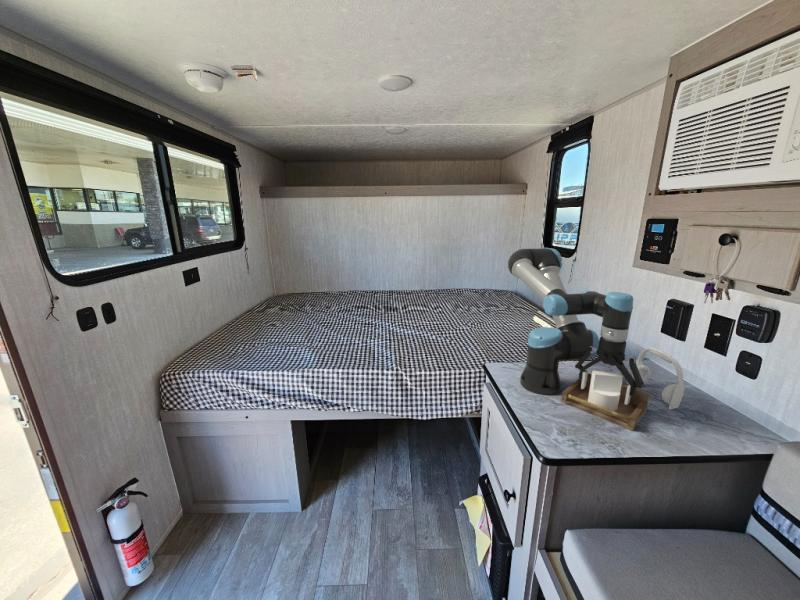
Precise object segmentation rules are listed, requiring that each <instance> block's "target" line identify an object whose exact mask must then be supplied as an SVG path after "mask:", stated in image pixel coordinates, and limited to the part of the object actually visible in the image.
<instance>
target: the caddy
mask: <svg viewBox="0 0 800 600" xmlns="http://www.w3.org/2000/svg"><path fill="white" fill-rule="evenodd" d="M579 376H580V371H579V374H578V379H577V380H575V381H574V382H573V383H572V384H571V385H569V386H568V387H567V388H565V389H564V390H563V391H562V392H561V393H562V394H561V399H560V402H561V403H563V404H566V405H568V406H570V407H573V408H575V409H578V410H581V411H583V412H586V413H588V414H590V415H593V416H595V417H598V418H600V419H602V420H605V421H608V422H610V423H613V424H615V425H618V426H620V427H623V428H625V429H628V430H630V431H634V429H636V427H637V425H638V424H639V423H640V421H641V419H643V417H644V416H645V414H646V412H647V411H648V410H647V409H648V405H649V400H650V396H651V395H650V394H651V392H648V391H645V390H642V389H640V388H636V391H635V394H634V395H633V396H630V402H629V403H628V404H627V405H626V404H624V403H625V398H626V392H627V386H628V384H627V385H626V384H623V383H622V386H621V391H620V398H619V403H618V409H617V410H616V411H611V410H609V409H606V408H603V407H601V406H598V405H595V404H593V403H590V402H588V397H589V390H590V383H591V376H592V373H590V372H588V375H587V382H586V387H585V388H584V389H581V383H582V379H580V378H579Z"/></svg>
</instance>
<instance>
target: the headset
mask: <svg viewBox="0 0 800 600" xmlns="http://www.w3.org/2000/svg"><path fill="white" fill-rule="evenodd" d="M648 352H650V353H651V354H652V355H654V356H656V357H657V358H660V359H662V360H664V361H665V362H667V363H669V364H673V365H674V368H675V370H676V375H677V382H676V383H677V384H669V385H667V386H666V387H664V388H663V389H662V392H661V399H662V400H663V401H664V402H665V403H666V404H669V405H668V410H669V411H671V410H674V409H678V408H679V407H680V404H681V401H682V400H683V399H682V398H683V397H684V393H685V388H686V387H685V386H684V385H685V384H684V383H685V382H684V372H683V368H682V366H681V364H680V363H679V362H678V360H676V358H675V357H673V356H672V355H669V354H668V353H666V352H664V351H662V350H660V349H658V348H654V347H647V348H645V349H643V350H642V351H641V352H640V353H639V355H638V357H637V358H636V365H637V368H638V370H639V373H640V375H641V378H642V380H643V383H644V384H645V382H647V381H648V380H649V379H650V377H651V369H650V368H649V367H648V366H647V365H644V362H643V359H644V357H645V355H646V353H648ZM631 376H632V377H633V378H634V376H633V374H632V373H631ZM634 380H635V379H634ZM626 384H627V385H629V383H628V382H627V381H626Z"/></svg>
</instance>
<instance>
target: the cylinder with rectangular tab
mask: <svg viewBox="0 0 800 600" xmlns="http://www.w3.org/2000/svg"><path fill="white" fill-rule="evenodd" d="M591 371H592V372H591V374H592V376H591V383H590V390H589V397H588V402H590V403H593V404H595V405H598V406H601V407H603V408H606V409H609V410H611V411H616V410H617V409H618V403H619V398H620V391H621V386H622V384H623V380H624V379H623V378H624V376H623V375H622V373H621V372H613V371H605V370H604V371H603V370H594V369H593V370H591Z"/></svg>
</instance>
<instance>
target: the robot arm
mask: <svg viewBox="0 0 800 600" xmlns="http://www.w3.org/2000/svg"><path fill="white" fill-rule="evenodd" d="M560 253H561V252H559V251H558V250H557V249H555V248H552V247H551V248H549V247H543V248H521V249H517V250H515V252H513V253H512V254H511V255H510V257H509V259H508V262H507V268H508V270H509V272H510V274H511V275H512V276H513V277H514V278H516V279H519V280H521V281H522V282H523V283H524V284H525V285H526V286H527V287H528V288H529V289H530V290H531V291H532V292H533V293H534V294H535V295H536V296H537V297H538V298H539V299H540V300H541V301H542V308H543V310H544V312H545V314H546V315H548V316H550V317H551V316H552V319H553V320H554V323H555V326H556V327H553V326H552V327H548V326H542V327H536V328H534V329H532V330H531V331H530V332H529V334H528V338H527V351H526V363H525V366H524V369H523V371H522V372H521V374H520V379H519V383H520V385H521V386H522V387H523V388H524V389H525V390H528V391H530V392H531V393H535V394H540V395H546V396H547V395H556V394H558V393H560V391H561V389H562V381H561V380H562V379H561V377H560V372H559V364H560V362H572V361H578V362H577V363H576V364H575V365H574V367H575V369H578V370H579V372H580V376H579V375H578V379H579V378H580V379H582V383H581V389H584V388H585V387H586V382H587V375H588V373H589V370H588V369H590V368H591V367H593V366H594V365H596V364H598V363H599V362H601V363H603V364H605V365H609V366H612V367H616V368H617V369H618V370H619V371H620V372H619V373H621V374H622V375H623V378H624V379H625V380H626V383H627V382H628V383H629V384H627V392H626V398H625V403H624V404H626V405H627V404H628V403H629V402H630V396H633V395H634V394H635V391H636V389H642V388H643V387H644V385H645V382H644V383H643V380H642V378H641V375H640V373H639V370H638V368H637V365H636V361H637V358H636V356H635V355H633V356H627V355H626V353H625V352H626V349H627V348H626V346H627V340H628V337H629V336H628V335H629V329H630V322H631V316H632V312H633V309H634V297H633V295H631V294H630V293H626V292H620V291H612V292H611V291H610V292H608V293H606V294H603V293H599V292H597V291H595V290H594V291H592V290H584V291H582V292H580V293H567V291H566V289H565V286H564V284H563V281H562V279H561V277H560V273H561V269H562V266H563V262H562V261H563V257H562V255H561V254H560ZM577 315H578V316H579V315H595V316H597V317H600V318H602V322H601V327H600V337H599V336H598V334H597V333H596V331H594V330H592V329H589V328H587V326H586V324H585V322H584V321H581V320H579V318H578V317H577ZM596 356H597V358H595V357H596ZM594 358H595V359H594ZM590 359H593V360H591V361H590V362H588V363H587V364H585V365H583V364H584V363H585V362H586V360H590ZM623 361H626V362H627V364H628V365H629V369H630V371H631V373H630V372H629V370H628V368H627V367H626V365H625V363H624V362H623ZM632 374H633V376H634V378H633V377H632ZM634 379H635V380H634Z"/></svg>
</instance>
